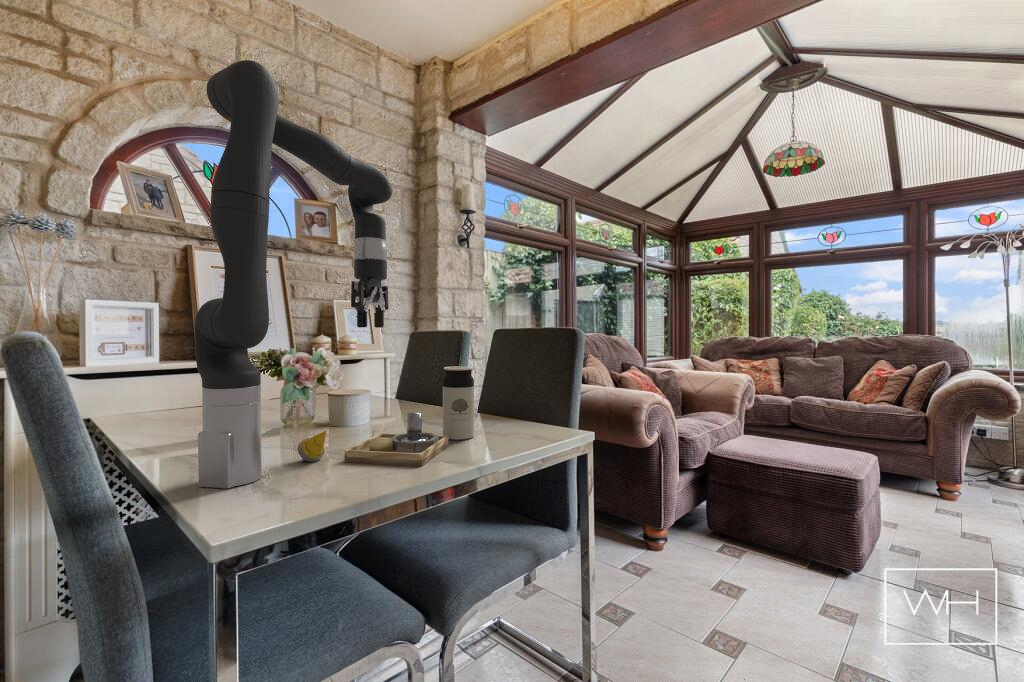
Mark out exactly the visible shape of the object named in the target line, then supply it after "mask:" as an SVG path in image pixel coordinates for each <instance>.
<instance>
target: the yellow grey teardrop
mask: <svg viewBox="0 0 1024 682" xmlns="http://www.w3.org/2000/svg"><path fill="white" fill-rule="evenodd" d="M326 436H327V430H324V431H322V432H319V433H318V434H316V435H313V436H311V437H307V438H304V439H302V440H301V442H299V444H298V445H297V453H298V455H299V457H301V463H303V462H310V463H314V462H315V463H316V462H318V461H320V460H321V459H322V457H324V455H325V448H324V447H325V442H326Z"/></svg>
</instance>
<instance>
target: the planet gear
mask: <svg viewBox="0 0 1024 682" xmlns="http://www.w3.org/2000/svg"><path fill="white" fill-rule="evenodd" d="M406 414H407V415H406V420H407V422H406V423H407V424H406V425H407V427H406V428H407V429H406V430H407V431H406V433H407V437H405V438H404V439H402V440H401V441H407V442H417V441H424V440H428V438H425V437H422V433H423V430H422V429H423V428H422V427H423V426H422V425H423V421H422V418H423V417H422V415H423V414H422V411H409V412H407V413H406Z"/></svg>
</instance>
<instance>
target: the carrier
mask: <svg viewBox="0 0 1024 682" xmlns="http://www.w3.org/2000/svg"><path fill="white" fill-rule="evenodd" d="M405 437H407V432H406V433H379V434H376V435H374V436H372V437H370V438H368V439H366V440H364V441H362V442H360V443H358V444H355V445H353V446H351V447H349V448H347V449H345V450H344V453H343V454H344V455H343V456H344V463H354V464H371V465H372V464H373V465H392V466H393V465H394V466H410V467H413V466H414V467H423V466H424V465H426V464H427V463H428V462H430V461H432V460H433V459H434V458H435V457H436V456H438V455H439V454H440V453H441V452H443V451H444V450H446V449H447V448H448V447H449V439H448V436H443V435H437V434H435V433H432V432H422V437H425V438H428V440H424V441H417V442H407V441H401V440H402V439H404V438H405Z"/></svg>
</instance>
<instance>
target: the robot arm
mask: <svg viewBox="0 0 1024 682" xmlns="http://www.w3.org/2000/svg"><path fill="white" fill-rule="evenodd" d="M206 96H207V98H208V101H209V103H210V105H211V106H212V108H213V109H214V111H216V112H217V114H218V115H219V116H220V117H222V118H223V119H225V120H226V121H228V122H230V128H229V134H228V138H227V139H228V140H227V142H226V145H225V147H224V151H223V152H222V155H221V157H220V159H219V162H218V165H217V168H216V170H215V173H214V176H213V179H212V185H211V191H210V209H209V212H210V214H209V215H210V225H211V229H212V233H213V236H214V239H215V241H216V245H217V246H218V250H219V251H220V254H221V257H222V262H223V265H224V266H223V268H224V281H223V293H222V297H220V298H219V297H218V298H213V299H210V300H208V301H206V302H205V303H203V304H202V305H201V306H200V307H199V309H198V311H197V313H196V316H195V320H194V345H195V346H194V347H195V361H196V363H195V364H196V369H197V372H198V374H199V375H200V377H201V378H200V379H201V391H202V392H201V393H202V394H201V395H202V396H201V397H202V398H201V400H202V401H201V403H202V405H201V407H202V410H201V412H202V413H201V415H202V430H201V431H199V432H198V433H197V441H198V442H197V447H198V448H197V458H198V459H197V460H198V463H197V464H198V466H197V467H198V469H197V470H198V471H197V472H198V487H199V488H200V487H201V488H202V487H203V488H215V489H216V488H217V489H218V488H219V489H230V488H234V487H238V486H243V485H247V484H250V483H254V482H255V481H258V480H260V479H261V478H262V477H263V476H262V385H261V384H262V383H261V382H262V381H261V379H262V378H261V377H262V376H261V371H260V369H258V367H256V366H255V365H254V364H253V363H252V361H251V360H250V357H249V349H252V348H255V347H257V346H259V344H261V342H262V341H264V339H265V338H266V336H267V333H268V330H269V324H270V308H269V307H270V306H269V293H268V283H267V282H268V281H267V280H268V279H267V267H268V266H267V263H268V235H269V234H268V232H269V219H270V218H269V217H270V187H271V185H270V183H271V174H272V173H271V170H272V169H271V168H272V151H273V145H275V146H276V147H278V148H280V149H281V150H284V151H285V152H287V153H289V154H291V155H293V156H295V157H296V158H298V159H299V160H301V161H303V162H304V163H306V164H307V165H309V166H310V167H312V168H313V169H315V170H316V171H317V172H318V173H320V174H322V175H323V176H325V177H326V178H327V179H328V180H329V181H331V182H333V183H335V184H337V185H338V186H348V189H347V197H348V201H349V205H350V208H351V213H352V216H353V219H354V247H353V276H354V279H356V280H353V281H351V284H350V285H351V287H350V288H351V289H350V290H351V292H350V294H351V295H350V307H351V308H354V310H355V311H356V327H357V328H367V327H368V311H367V310H368V308H369V306H372V309H373V311H374V314H373V316H374V318H373V321H374V322H373V325H374V327H375V328H379V329H381V328H384V327H385V312H386V311H388V310H389V307H390V305H389V286H387V285H382V281H385V280H387V278H388V248H387V241H386V239H387V238H386V237H387V235H386V234H387V232H386V230H387V228H386V224H387V223H386V220H385V218H384V216H382V215H380V214H378V213H375V211H374V205H378V204H383V203H386V202H389V200H390V199H391V198H392V195H393V190H394V189H393V184H392V183H391V181H390V179H389V177H387V175H386V174H385V173H383V171H381V170H379V169H378V168H376V167H374V166H372V165H370V164H368V163H366V162H364V161H362V160H359V159H357V158H354V157H353V156H352V155H351V154H350V153H348V152H347V151H346V150H345V149H343V148H342V147H341V146H339V145H338V144H337V143H335V142H334V141H333V140H331V139H330V138H328V137H326V136H324V135H322V134H320V133H318V132H316V131H314V130H312V129H309V128H307V127H303V126H302V125H299V124H297V123H294V121H290V120H289V119H287V118H286V117H284V116H282V115H280V114H278V112H279V111H278V110H279V104H280V103H279V91H278V87H277V84H276V81H275V78H274V77H273V76H272V74H271V72H270V71H269V70H268V69H267V67H265V66H264V65H262V64H261V63H260V62H257V61H255V60H252V59H245V60H238V61H236V62H234V63H231V64H230V65H228V66H226V67H225V68H223V69H221V70H219V71H216V72H215V73H214V74H213V75H212V76H211V77H210V78H209V79H208V81H207V82H206Z"/></svg>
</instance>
